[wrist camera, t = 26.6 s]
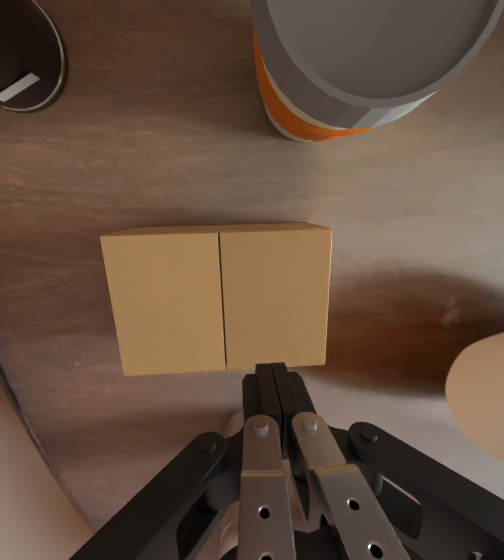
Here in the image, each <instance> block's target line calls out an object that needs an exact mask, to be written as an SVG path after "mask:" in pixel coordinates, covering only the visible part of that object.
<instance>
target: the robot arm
mask: <svg viewBox="0 0 504 560" xmlns="http://www.w3.org/2000/svg"><path fill="white" fill-rule="evenodd" d="M66 77H67V55H66V50H65V46H64V43H63V40H62V37H61V35H60V33H59V31H58V29H57V27H56V26H55V24H54V22H53V21H52V20H51V18H50V17H49V16H48V14H47V13H46V12H45V11H44V10H43V9H42V8H41V7H40V6H39V5H38V4H37V3H36V2H35V1H34V0H0V107H1V108H4V109H6V110H9V111H13V112H19V113H31V112H36V111H40V110H42V109H44V108H46V107H48V106H49V105H51V104H52V103H53V102H54V101H55V100H56V99H57V98H58V96H59V95H60V93H61V91H62V89H63V87H64V84H65V81H66ZM242 388H243V415H244V425H243V427H242V428H241V430H240V431H239V432H238V433H236V434H235V435H233V436H230V437H228V438H224V437H223V436H222V435H220V434H218V433H215V432H206V433H203V434H200V435H199V436H197V437H196V438H195V439H193V440H192V441H191V442H190V443H189V444H188V445H187V446H186V447H185V448H184V449H183V450H182V451H181V452H180V453H179V454H178V455H177V456H176V457H175V458H174V459H173V460H172V461H171V462H170V463H169V464H167V465H166V466H165V467H164V468H163V469H162V470H161V471H160V472H159V473H158V474H157V475H156V476H155V477H154V478H153V479H152V480H151V481H150V482H149V483H148V484H147V485H146V486H145V487H144V488H143V489H141V490H140V491H139V492H138V493H137V494H136V495H135V496H134V497H133V498H132V499H131V500H130V501H129V502H128V503H127V504H126V505H125V506H124V507H123V508H122V509H121V510H120V511H119V512H118V513H117V514H115V515H114V516H113V517H112V518H111V519H110V520H109V521H108V522H107V523H106V524H105V525H104V526H103V527H102V528H101V529H100V530H99V531H98V532H97V533H96V534H95V535H94V536H93V537H92V538H91V539H89V541H87V542H86V544H84V545H83V546H82V547H81V548H80V549H79V550H78V551H77V552H76V553H75V554H74V555H73V556H72V557H71V558H70V559H69V560H194V559H195V558H196V556H197V555H198V553H199V552H200V550H201V549H202V547H203V546H204V544H205V543H206V542H207V540H208V539H209V537H210V536H211V534H212V533H213V531H214V530H215V529H216V527H217V526H218V524H219V523H220V521H221V520H222V518H223V517H224V515H225V514H226V512H227V511H228V508H229V505H231V504H233V503H235V502H237V501H239V500H240V501H239V524H238V545H236V546H235V547H233V548H231V549H230V550H229V551H228V552H226V553H225V554H224V555H223V556H222V557H221V558H220V559H219V560H504V500H503V499H501V498H500V497H498V496H496V495H495V494H493V493H491V492H489V491H488V490H486V489H484V488H482V487H481V486H479V485H477V484H475V483H474V482H472V481H470V480H469V479H467V478H465V477H463V476H462V475H460V474H458V473H456V472H455V471H453V470H451V469H449V468H448V467H446V466H444V465H443V464H441V463H439V462H437V461H436V460H434V459H432V458H430V457H429V456H427V455H425V454H423V453H422V452H420V451H418V450H417V449H415V448H413V447H411V446H410V445H408V444H406V443H404V442H403V441H401V440H399V439H397V438H396V437H394V436H392V435H391V434H389V433H387V432H385V431H384V430H382V429H380V428H378V427H377V426H375V425H373V424H370V423H367V422H357V423H354V424H352V425H351V426H350V428H349V431H347V430H342V429H337V428H333V427H331V426H329V425H327V424H326V422H325V421H324V419H323V418H322V417H321V416H319V415H317V413H316V411H315V408H314V406H313V403H312V401H311V398H310V396H309V394H308V392H307V389H306V386H305V384H304V381H303V379H302V377H301V376H300V375H299V374H298V373H296V372H288V371H287V368H286V365H285V362H277V363H260V364H255V374H246V375H245V377H244V379H243V381H242ZM284 459H289V462H290V466H291V468H290V477H291V482H292V485H293V488H294V492H295V495H296V499H297V502H298V505H299V509H300V512H301V516H302V519H303V523H304V526H305V530H306V532H302V531H297V530H293V528H292V520H291V512H290V504H289V496H288V487H287V479H286V473H285V472H284V470H283V462H282V460H284ZM383 476H385V477H386V478H387V479H389V480H390V481H392V482H393V483H395V484H396V485H398V486H399V487H400V488H402V489H403V490H405V491H406V492H408V493H409V494H410V495H412V496H413V497H415V498H416V499H417V500H418V502H419V503H420V504H421V505H419V504H418V503H416V502H415V501H414V500H412V499H411V498H409V497H408V496H407V495H405V494H404V493H402V492H401V491H399V490H398V489H397V488H395V487H394V486H392V485H391V484H389V483H388V482H387V481H385V480H384V479H383Z"/></svg>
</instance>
